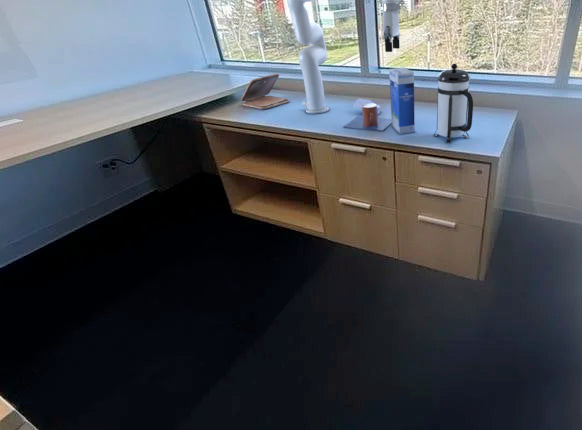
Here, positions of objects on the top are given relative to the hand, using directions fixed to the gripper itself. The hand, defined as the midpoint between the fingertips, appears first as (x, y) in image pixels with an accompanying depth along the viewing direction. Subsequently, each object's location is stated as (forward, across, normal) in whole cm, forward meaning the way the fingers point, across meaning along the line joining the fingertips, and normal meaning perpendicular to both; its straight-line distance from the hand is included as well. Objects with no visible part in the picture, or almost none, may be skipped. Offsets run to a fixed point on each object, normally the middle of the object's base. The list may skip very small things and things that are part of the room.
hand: (392, 50), depth 175 cm
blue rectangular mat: (+31, +14, -8) cm, 35 cm away
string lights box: (+31, +17, +10) cm, 37 cm away
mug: (+31, +16, -6) cm, 35 cm away
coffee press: (+31, +22, +35) cm, 52 cm away
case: (+31, -5, -82) cm, 88 cm away
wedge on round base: (+31, -3, -16) cm, 35 cm away
